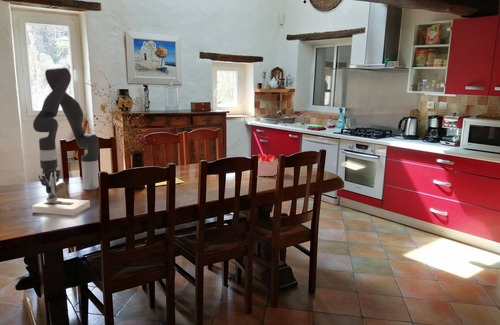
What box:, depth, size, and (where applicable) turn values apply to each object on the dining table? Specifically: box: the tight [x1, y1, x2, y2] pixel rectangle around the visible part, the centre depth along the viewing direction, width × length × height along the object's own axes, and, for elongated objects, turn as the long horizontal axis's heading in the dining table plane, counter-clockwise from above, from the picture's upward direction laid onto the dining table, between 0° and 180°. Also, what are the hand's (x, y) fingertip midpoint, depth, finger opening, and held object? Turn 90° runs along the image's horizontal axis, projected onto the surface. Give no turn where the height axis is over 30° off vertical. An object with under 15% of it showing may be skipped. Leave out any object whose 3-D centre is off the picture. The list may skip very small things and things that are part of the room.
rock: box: [55, 182, 70, 199], centre depth 207 cm, size 11×9×10 cm
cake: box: [257, 153, 279, 177], centre depth 277 cm, size 20×20×14 cm
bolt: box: [46, 176, 57, 201], centre depth 190 cm, size 5×5×12 cm
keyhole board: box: [31, 198, 91, 217], centre depth 191 cm, size 14×22×4 cm, turn 81°
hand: (51, 191), depth 190 cm, fingers closed on bolt, 3 cm apart
